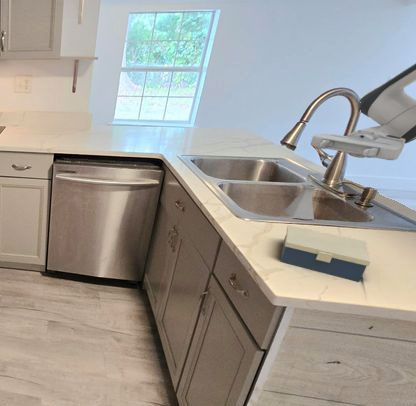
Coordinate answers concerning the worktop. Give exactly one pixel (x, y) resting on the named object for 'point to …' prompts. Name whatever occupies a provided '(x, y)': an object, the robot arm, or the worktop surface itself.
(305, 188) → the flask
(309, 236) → the lunchbox
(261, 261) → the worktop surface
